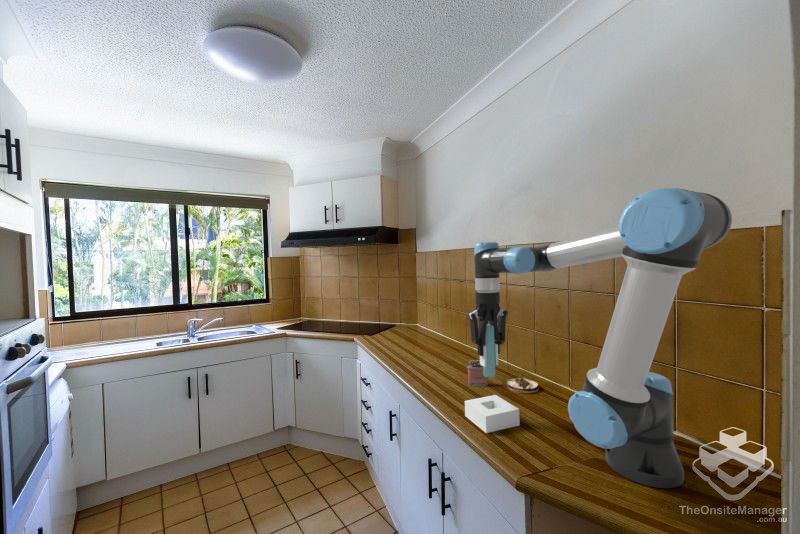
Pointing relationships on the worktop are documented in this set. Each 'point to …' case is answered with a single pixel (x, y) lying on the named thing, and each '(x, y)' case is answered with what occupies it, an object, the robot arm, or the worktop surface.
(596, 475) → the worktop surface
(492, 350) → the peg
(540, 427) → the worktop surface
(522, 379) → the round flat dish
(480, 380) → the lighter
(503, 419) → the socket block
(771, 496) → the worktop surface
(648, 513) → the worktop surface
